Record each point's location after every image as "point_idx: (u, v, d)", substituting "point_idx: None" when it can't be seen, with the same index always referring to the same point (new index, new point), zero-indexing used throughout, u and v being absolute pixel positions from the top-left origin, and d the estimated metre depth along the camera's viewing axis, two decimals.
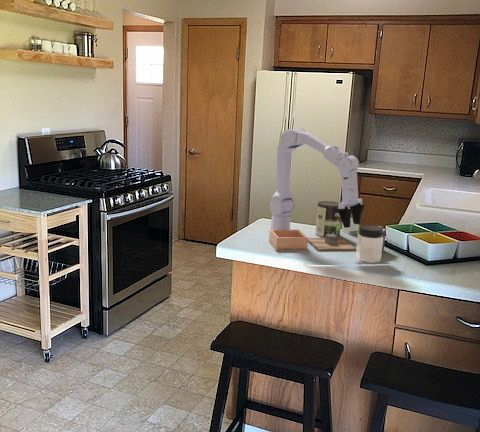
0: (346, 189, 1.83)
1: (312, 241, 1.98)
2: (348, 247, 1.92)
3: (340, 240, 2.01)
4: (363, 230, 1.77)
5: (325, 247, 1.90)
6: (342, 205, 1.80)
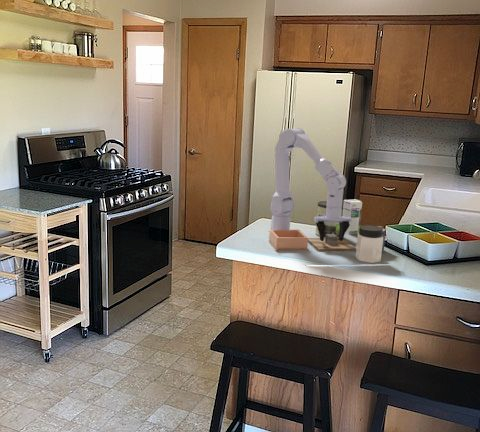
0: (327, 205, 1.92)
1: (312, 241, 1.98)
2: (348, 247, 1.92)
3: None
4: (363, 230, 1.77)
5: (325, 247, 1.90)
6: (315, 219, 1.92)
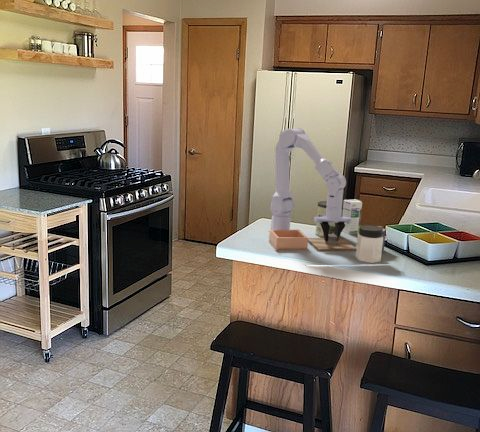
0: (327, 206, 1.92)
1: (312, 241, 1.98)
2: (348, 247, 1.92)
3: (340, 240, 2.01)
4: (363, 230, 1.77)
5: (325, 247, 1.90)
6: (315, 219, 1.92)
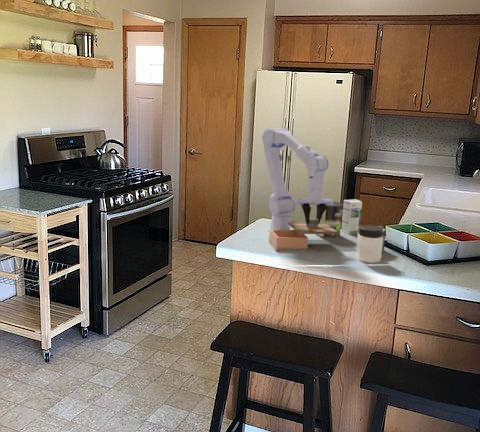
0: (308, 187, 1.90)
1: (293, 225, 1.95)
2: (329, 230, 1.90)
3: (322, 224, 1.99)
4: (363, 230, 1.77)
5: (306, 230, 1.88)
6: (296, 201, 1.90)
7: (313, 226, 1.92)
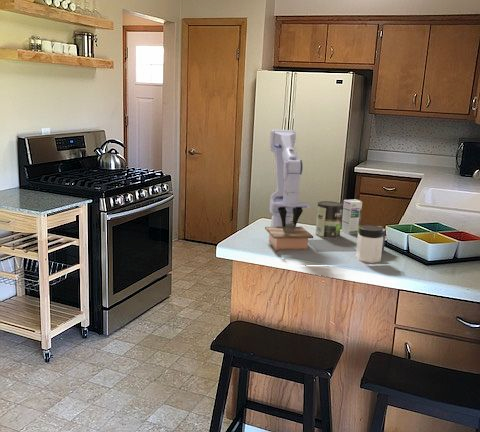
0: (284, 191, 1.89)
1: (270, 229, 1.95)
2: (305, 235, 1.89)
3: (299, 228, 1.98)
4: (363, 230, 1.77)
5: (281, 235, 1.87)
6: (272, 205, 1.89)
7: (289, 230, 1.92)
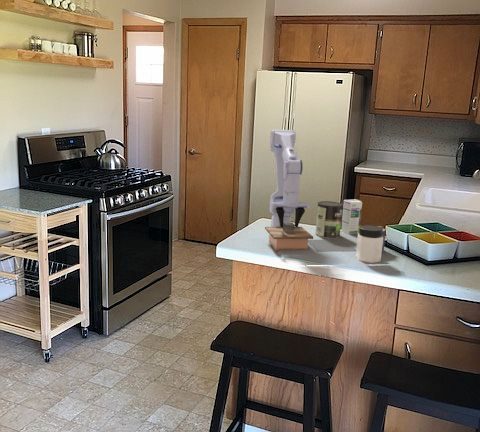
0: (284, 191, 1.89)
1: (270, 229, 1.95)
2: (305, 235, 1.89)
3: (299, 229, 1.98)
4: (363, 230, 1.77)
5: (281, 235, 1.87)
6: (272, 205, 1.89)
7: (289, 231, 1.92)
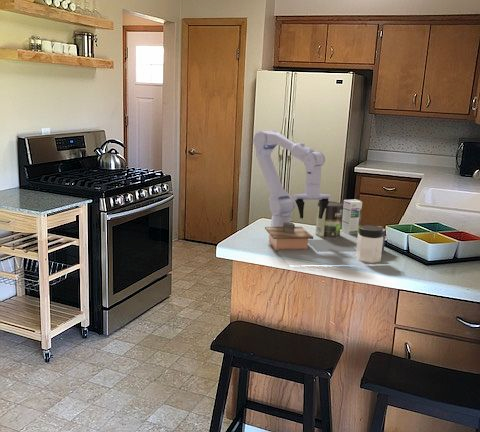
0: (306, 183, 1.94)
1: (270, 229, 1.95)
2: (305, 235, 1.89)
3: (299, 229, 1.98)
4: (363, 230, 1.77)
5: (281, 235, 1.87)
6: (294, 196, 1.93)
7: (289, 231, 1.92)
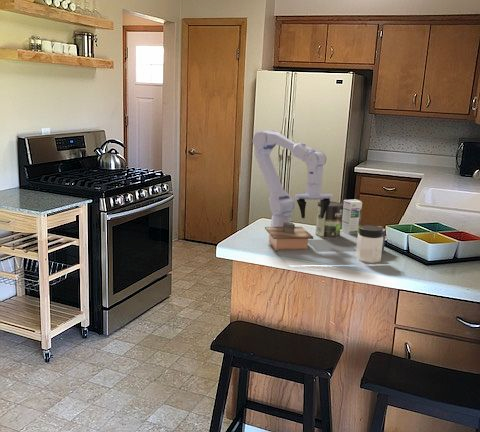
0: (307, 183, 1.94)
1: (270, 229, 1.95)
2: (305, 235, 1.89)
3: (299, 229, 1.98)
4: (363, 230, 1.77)
5: (281, 235, 1.87)
6: (296, 196, 1.94)
7: (289, 231, 1.92)
